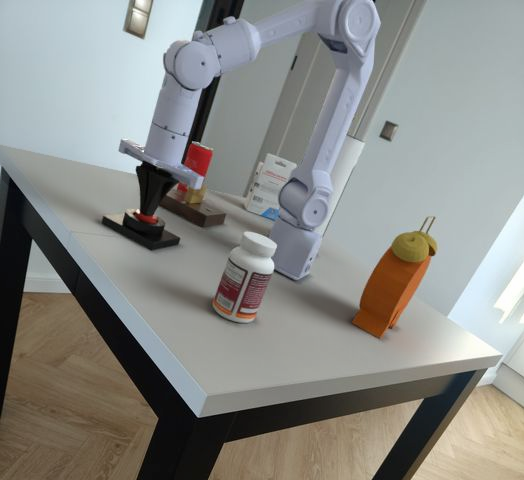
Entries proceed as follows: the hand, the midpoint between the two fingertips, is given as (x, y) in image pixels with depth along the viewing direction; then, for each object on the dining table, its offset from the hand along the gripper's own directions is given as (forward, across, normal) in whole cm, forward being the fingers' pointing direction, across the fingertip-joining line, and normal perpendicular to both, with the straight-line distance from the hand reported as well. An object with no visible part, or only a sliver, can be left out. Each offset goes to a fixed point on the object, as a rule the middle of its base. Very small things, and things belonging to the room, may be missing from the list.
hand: (146, 214), depth 82 cm
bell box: (+3, 0, 0) cm, 3 cm away
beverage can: (+4, -12, +34) cm, 36 cm away
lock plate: (+3, -5, +24) cm, 25 cm away
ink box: (+4, -1, +54) cm, 54 cm away
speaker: (+4, +14, +40) cm, 42 cm away
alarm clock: (+4, +40, +15) cm, 42 cm away
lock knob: (+1, -5, +24) cm, 25 cm away
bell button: (+2, 0, 0) cm, 2 cm away
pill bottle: (+4, +23, -10) cm, 25 cm away
